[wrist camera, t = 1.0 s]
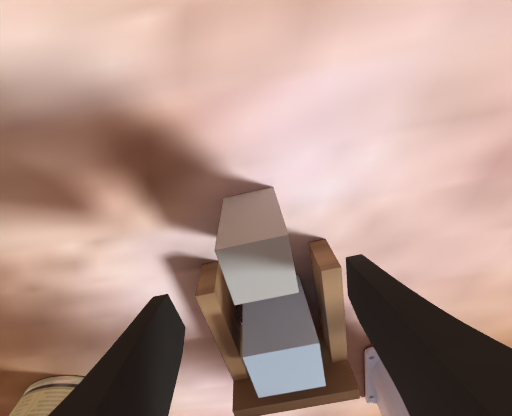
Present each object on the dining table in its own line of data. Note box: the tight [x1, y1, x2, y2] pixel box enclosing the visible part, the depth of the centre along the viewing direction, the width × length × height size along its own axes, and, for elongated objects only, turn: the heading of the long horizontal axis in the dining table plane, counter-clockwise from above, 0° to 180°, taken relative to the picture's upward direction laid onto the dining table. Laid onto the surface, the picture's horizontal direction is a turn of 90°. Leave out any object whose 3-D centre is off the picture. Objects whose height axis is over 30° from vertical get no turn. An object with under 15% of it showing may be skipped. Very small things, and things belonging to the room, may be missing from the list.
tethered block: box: [215, 187, 326, 398], centre depth 15 cm, size 12×4×6 cm, turn 12°
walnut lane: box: [195, 239, 360, 416], centre depth 17 cm, size 10×9×5 cm
